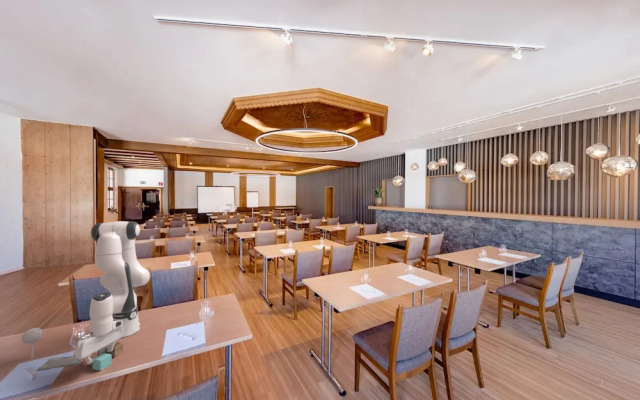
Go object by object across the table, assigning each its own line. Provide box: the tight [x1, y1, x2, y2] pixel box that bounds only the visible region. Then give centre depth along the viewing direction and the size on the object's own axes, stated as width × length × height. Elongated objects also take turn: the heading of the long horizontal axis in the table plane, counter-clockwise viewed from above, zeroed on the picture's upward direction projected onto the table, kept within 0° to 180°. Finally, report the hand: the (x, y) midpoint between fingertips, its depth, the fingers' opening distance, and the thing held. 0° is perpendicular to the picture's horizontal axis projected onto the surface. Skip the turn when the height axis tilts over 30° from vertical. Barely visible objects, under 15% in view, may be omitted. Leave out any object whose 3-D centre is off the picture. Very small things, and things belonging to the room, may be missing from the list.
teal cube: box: [92, 353, 113, 372], centre depth 122 cm, size 5×5×5 cm
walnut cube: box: [106, 341, 124, 358], centre depth 132 cm, size 5×5×5 cm
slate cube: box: [97, 344, 110, 357], centre depth 132 cm, size 5×5×5 cm
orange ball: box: [82, 351, 98, 367], centre depth 125 cm, size 5×5×5 cm
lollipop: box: [21, 327, 44, 359], centre depth 128 cm, size 7×7×15 cm
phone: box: [37, 354, 83, 371], centre depth 125 cm, size 8×16×1 cm, turn 107°
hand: (100, 356), depth 121 cm, fingers open, 8 cm apart
